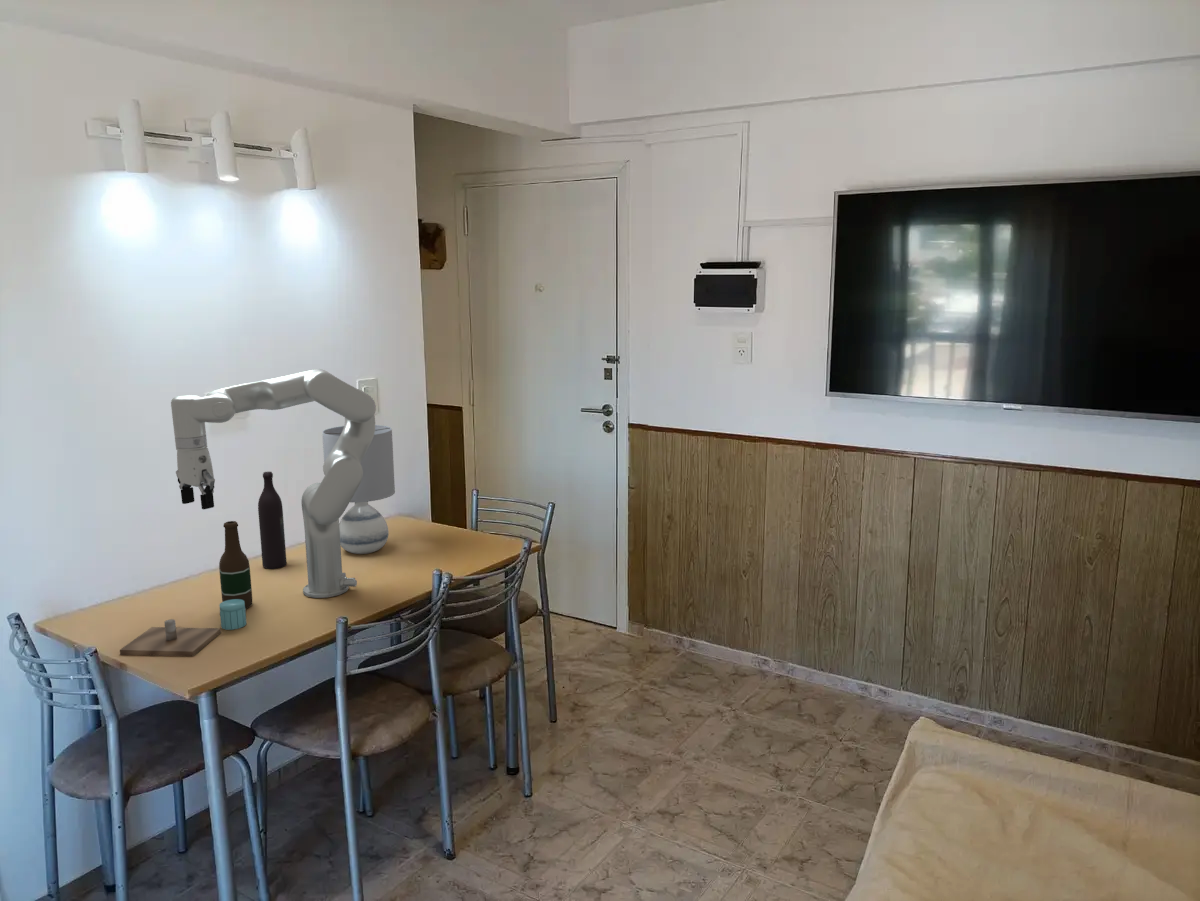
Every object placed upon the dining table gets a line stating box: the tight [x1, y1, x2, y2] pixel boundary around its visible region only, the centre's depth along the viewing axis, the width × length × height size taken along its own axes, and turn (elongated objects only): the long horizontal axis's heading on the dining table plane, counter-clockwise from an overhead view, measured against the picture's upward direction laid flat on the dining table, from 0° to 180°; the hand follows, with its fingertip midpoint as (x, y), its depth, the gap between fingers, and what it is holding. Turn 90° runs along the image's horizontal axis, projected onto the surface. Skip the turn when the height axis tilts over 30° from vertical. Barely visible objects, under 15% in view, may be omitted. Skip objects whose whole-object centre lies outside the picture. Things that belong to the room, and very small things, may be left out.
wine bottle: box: [257, 471, 287, 570], centre depth 271 cm, size 7×7×30 cm
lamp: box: [321, 424, 396, 555], centre depth 286 cm, size 22×22×40 cm
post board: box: [119, 618, 222, 657], centre depth 216 cm, size 18×14×6 cm
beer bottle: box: [218, 520, 253, 610], centre depth 238 cm, size 8×8×24 cm
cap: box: [218, 599, 247, 631], centre depth 227 cm, size 6×6×6 cm
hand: (198, 505), depth 233 cm, fingers open, 9 cm apart
